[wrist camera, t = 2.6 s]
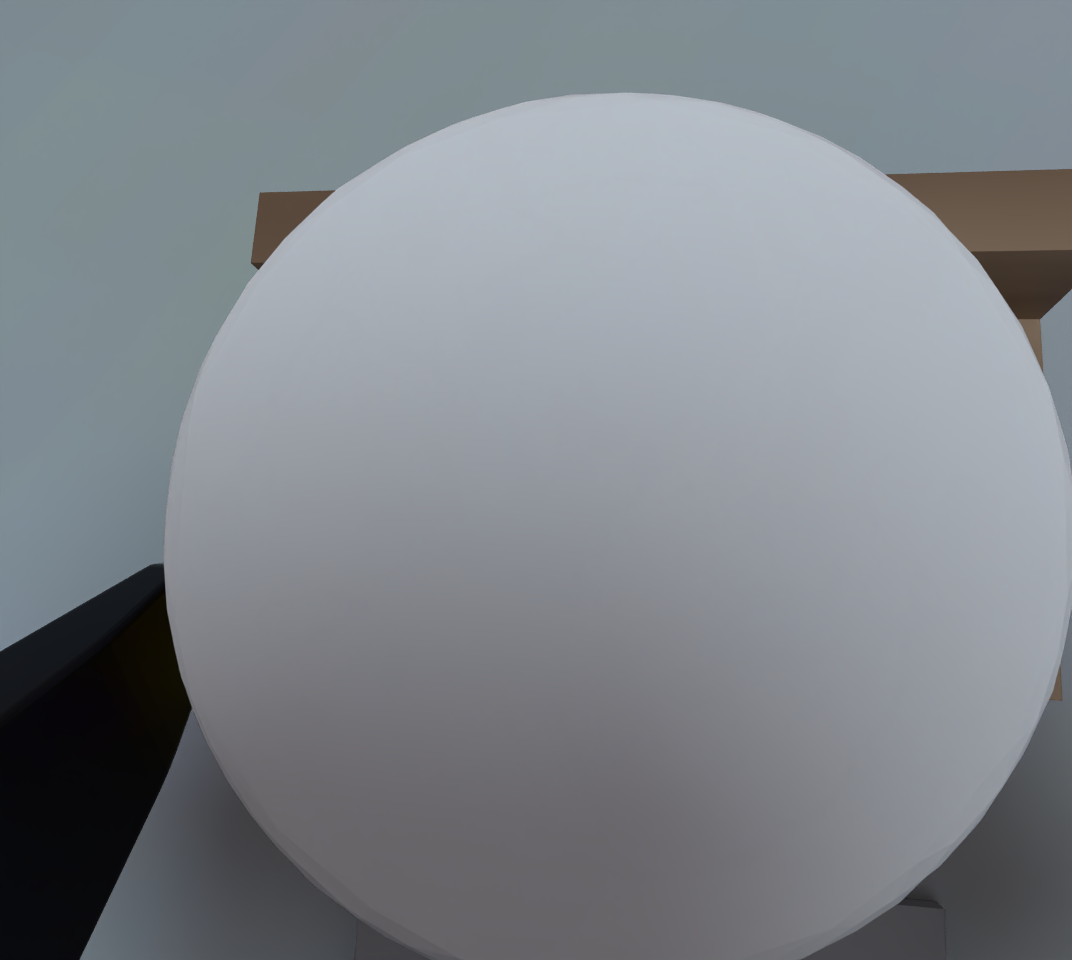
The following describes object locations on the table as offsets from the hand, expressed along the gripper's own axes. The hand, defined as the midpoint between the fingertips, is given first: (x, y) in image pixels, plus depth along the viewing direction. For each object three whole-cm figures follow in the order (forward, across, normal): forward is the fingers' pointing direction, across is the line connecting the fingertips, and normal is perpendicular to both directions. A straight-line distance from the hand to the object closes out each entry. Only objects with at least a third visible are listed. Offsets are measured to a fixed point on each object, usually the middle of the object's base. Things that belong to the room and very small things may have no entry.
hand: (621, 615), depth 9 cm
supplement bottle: (+6, 0, +6) cm, 8 cm away
